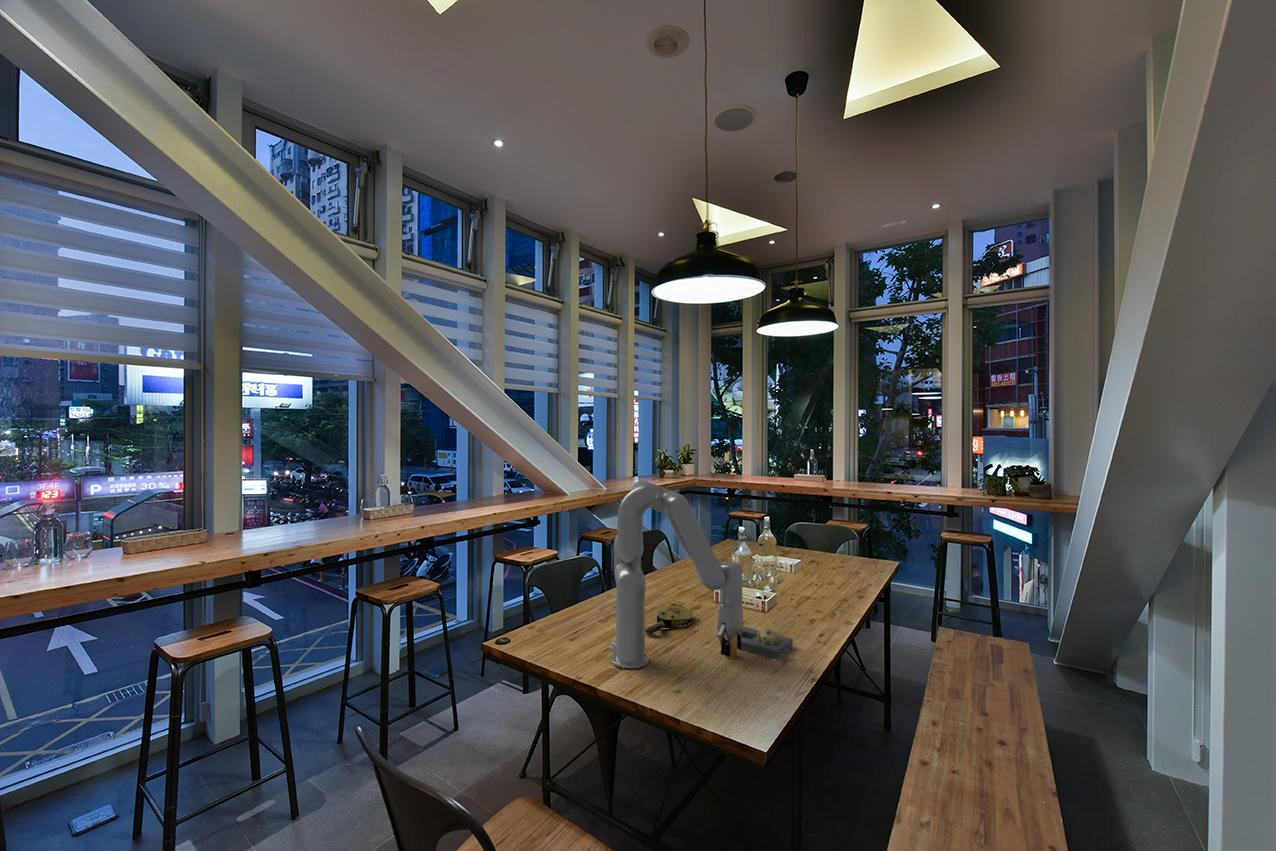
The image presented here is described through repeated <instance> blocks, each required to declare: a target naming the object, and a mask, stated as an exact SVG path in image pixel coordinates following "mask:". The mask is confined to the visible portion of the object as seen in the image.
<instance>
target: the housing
mask: <svg viewBox="0 0 1276 851" xmlns="http://www.w3.org/2000/svg"><path fill="white" fill-rule="evenodd" d="M724 638H725V636H724ZM740 638H741V649H740V651H742V650H743V651H742V652H745V651H746V652H745V653H749V652H750V653H749V654H752V653H753V655H756V654H757V655H756V656H759V655H761V656H760V657H763V656H764V657H763V658H766V657H768V658H767V659H770V658H772V659H771V660H773V659H775V660H774V661H776V659H777V658H778V659H780V658H781V657H782V656H783V655H785V654H786V653H787V652H788V651H787V650H789V649H790V648H791V647H792V646H794V645H793V644H794V642H793V641H794V640H793V638H790V637H786V636H783V635H780V633H779V632H776V631H775V630H773V629H772V630H770V629H763V630H758V629H755V628H751V627H747V626H744V625H743V630H742V637H740ZM791 649H792V648H791ZM791 649H790V650H791ZM790 650H789V651H790ZM786 651H787V652H786ZM785 652H786V653H785ZM784 653H785V654H784ZM782 654H783V655H782ZM781 655H782V656H781ZM780 656H781V657H780ZM778 659H777V660H778Z"/></svg>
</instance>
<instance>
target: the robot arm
mask: <svg viewBox="0 0 1276 851" xmlns="http://www.w3.org/2000/svg"><path fill="white" fill-rule="evenodd" d="M648 509H651V510H655V511H656V512H660V513H662V514H665V515H666V517H667V518H668V521H669V523H670V525H671V527H672V529H673V531H674V533H675V535H676V537H677V539H678V541H679V543H680V546H682V548H683V549H684V551H685V552H686V553H687V555H688V556H689V557H690V559H691V560H692V563H693V564H694V566H695V568H696V569H695V571H696V572H695V574H696V576H697V578H698V580H699V581H700V582H701V583H702V584H703V585H704V587H706V588H707V589H708V590H709V591H719V598H720V599H719V602H720V603H719V609H718V616H717V638H718V639H719V642H720V654H721V656H724V657H725V656H728V657H729V656H730V644H729V641H730V636H732V635H734V634H735V633H737V650H738V649H739V650H740V649H741V638H740V637H742V630H743V626H744V625H745V622H744V616H743V615H744V611H743V566H742V565H741V563H739V562H735V561H726V562H720V561H719V560H718V558H717V556H716V554H715V552H714V551H713V548H712V547H711V545H710V543H709V540H708V539H707V537H706V535H705V533H704V532H703V530H702V528H701V526H700V524H699V521H698V520H697V518H696V516H695V513H694V511H693V509H692V507H691V505H690V503H689V501H688V500H687V498H686V497H685V496H684V495H682V494H681V493H679V492H676V491H674V490H670V489H667V488H665V487H662V486H660V485H657V484H654V483H651V482H649V481H647V480H638V481H636V482H635V483H634V484H633V485H632V486H631V488H630V491H629V492H628V493H626V495H625V496H624V498H623V499H622V500H621V502H620V504H619V507H618V510H617V527H616V528H617V530H616V531H617V532H616V533H617V534H616V536H615V538H614V540H613V569H614V570H613V571H614V579H615V583H616V598H615V599H616V600H615V601H616V602H615V610H616V611H615V616H616V618H615V622H616V623H615V624H616V626H615V627H616V628H615V629H616V633H615V634H616V635H615V638H616V639H615V640H616V641H611V643H610V645H609V646H608V650H609V651H611V652H612V651H613V655H611V656H612V657H611V664H613V666H615V665H616V666H615V667H617V666H618V667H617V668H619V667H621V668H620V669H624V668H629V669H628V670H631V669H630V668H633V669H632V670H635V669H634V668H637V669H640V667H641V668H643V666H644V667H647V665H648V664H649V663H650V656H649V655H648V654H647V653H646V652H645V649H646V646H645V645H646V643H645V642H646V641H645V640H646V638H645V637H646V636H645V635H646V632H645V629H646V624H645V623H646V622H645V621H646V618H645V616H646V615H645V614H646V613H645V612H646V611H645V610H646V607H645V606H646V589H647V584H646V583H647V582H646V577H645V574H644V572H643V570H642V560H641V558H642V555H643V553H644V536H643V534H644V532H643V531H644V530H643V527H644V526H643V523H644V521H643V520H644V515H645V513H646V511H648ZM725 632H726V633H728V634H725ZM724 636H727V640H726V639H725V638H724ZM740 651H741V650H740Z"/></svg>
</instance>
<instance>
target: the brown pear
mask: <svg viewBox="0 0 1276 851" xmlns="http://www.w3.org/2000/svg"><path fill="white" fill-rule="evenodd" d="M725 634H728V633H726V632H725ZM725 639H726V640H727V636H725ZM729 644H730V656H729V657H728V656H725V655H724V657H725V658H726V657H727V658H726V659H728V658H730V659H729V660H736V659H737V658H738V649H737V633H735V634H734V635H732V636H730V641H729ZM735 658H736V659H735Z"/></svg>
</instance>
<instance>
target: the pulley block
mask: <svg viewBox="0 0 1276 851" xmlns="http://www.w3.org/2000/svg"><path fill="white" fill-rule="evenodd" d="M699 616H700V614H698V615H696V616H694V612H693V611H692V609H689V608H686V607H685V606H683V605H680V604H677V603H676V604H675V603H670V605H666V606H663V607H661V608H660V609H659V611H658V614H657V617H656V623H655V624H653V625H651V626H648V627H647V628H646V627H645V634H648V635H650V634H653V633H655V632H659V631H660V630H662V629H661V628H673V629H676V628H675V627H679V626H684V625H688V624H689V623H691V622H692V620H693V619H695V618H698V617H699ZM692 623H693V622H692Z"/></svg>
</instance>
